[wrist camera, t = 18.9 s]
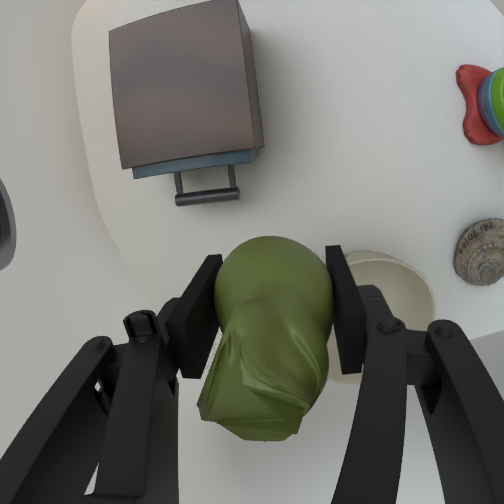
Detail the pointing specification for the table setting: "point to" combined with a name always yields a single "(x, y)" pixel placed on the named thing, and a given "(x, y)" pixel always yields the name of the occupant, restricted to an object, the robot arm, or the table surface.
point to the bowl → (396, 295)
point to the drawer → (198, 163)
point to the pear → (269, 339)
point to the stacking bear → (482, 103)
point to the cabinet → (184, 84)
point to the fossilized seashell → (481, 253)
